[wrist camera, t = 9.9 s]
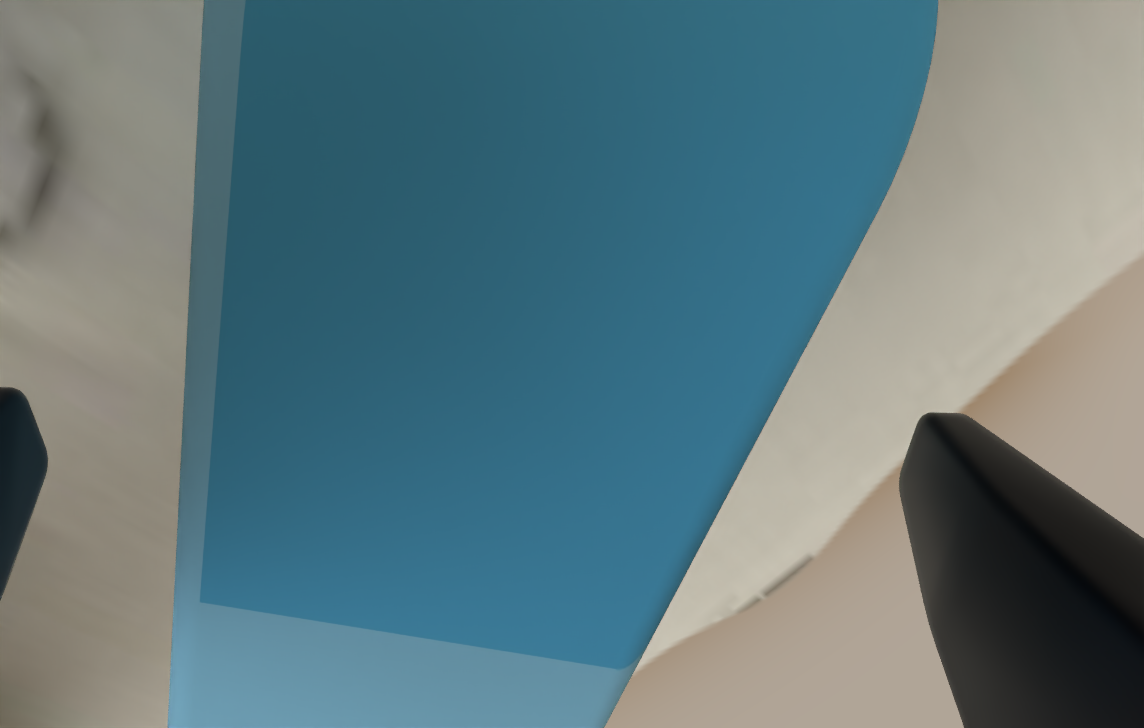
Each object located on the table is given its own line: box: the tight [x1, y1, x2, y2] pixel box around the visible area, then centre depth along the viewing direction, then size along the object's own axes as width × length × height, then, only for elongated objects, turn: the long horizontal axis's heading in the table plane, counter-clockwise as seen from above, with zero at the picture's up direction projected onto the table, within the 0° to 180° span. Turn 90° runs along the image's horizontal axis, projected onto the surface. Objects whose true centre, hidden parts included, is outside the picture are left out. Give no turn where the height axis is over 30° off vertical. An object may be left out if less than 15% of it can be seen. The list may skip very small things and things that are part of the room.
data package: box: [168, 0, 938, 728], centre depth 13 cm, size 12×4×12 cm, turn 164°
